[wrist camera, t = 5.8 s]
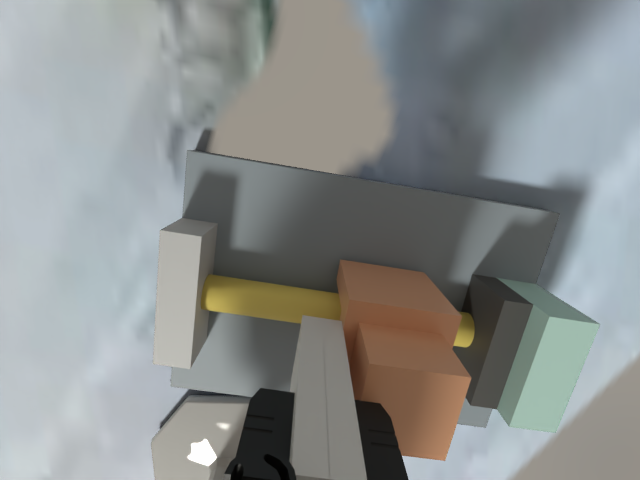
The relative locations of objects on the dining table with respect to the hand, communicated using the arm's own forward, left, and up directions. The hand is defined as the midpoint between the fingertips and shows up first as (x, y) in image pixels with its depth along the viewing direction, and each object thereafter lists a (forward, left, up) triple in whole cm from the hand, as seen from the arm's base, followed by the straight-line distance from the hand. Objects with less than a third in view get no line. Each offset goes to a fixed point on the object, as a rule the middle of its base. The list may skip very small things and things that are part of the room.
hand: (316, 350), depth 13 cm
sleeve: (0, +3, -4) cm, 5 cm away
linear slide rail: (0, +2, -5) cm, 5 cm away
